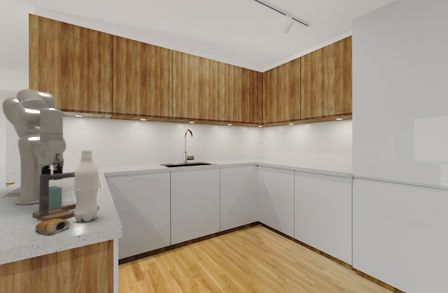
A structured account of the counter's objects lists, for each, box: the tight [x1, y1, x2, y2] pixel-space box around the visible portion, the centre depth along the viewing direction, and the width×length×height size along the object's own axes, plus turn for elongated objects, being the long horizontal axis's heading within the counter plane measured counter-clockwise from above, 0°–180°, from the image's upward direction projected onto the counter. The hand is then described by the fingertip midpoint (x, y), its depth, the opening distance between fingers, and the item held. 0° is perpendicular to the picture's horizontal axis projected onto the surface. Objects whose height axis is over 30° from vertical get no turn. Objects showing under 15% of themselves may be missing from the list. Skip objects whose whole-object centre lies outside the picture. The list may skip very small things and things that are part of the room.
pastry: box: [34, 219, 70, 236], centre depth 66 cm, size 9×7×4 cm
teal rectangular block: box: [49, 185, 63, 209], centre depth 87 cm, size 6×5×9 cm
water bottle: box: [73, 150, 99, 223], centre depth 75 cm, size 7×7×25 cm
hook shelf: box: [31, 171, 100, 222], centre depth 82 cm, size 13×17×16 cm
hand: (51, 178), depth 86 cm, fingers open, 9 cm apart
